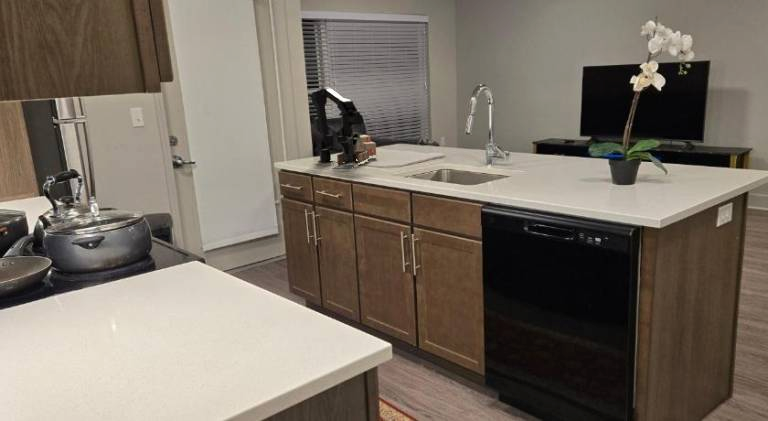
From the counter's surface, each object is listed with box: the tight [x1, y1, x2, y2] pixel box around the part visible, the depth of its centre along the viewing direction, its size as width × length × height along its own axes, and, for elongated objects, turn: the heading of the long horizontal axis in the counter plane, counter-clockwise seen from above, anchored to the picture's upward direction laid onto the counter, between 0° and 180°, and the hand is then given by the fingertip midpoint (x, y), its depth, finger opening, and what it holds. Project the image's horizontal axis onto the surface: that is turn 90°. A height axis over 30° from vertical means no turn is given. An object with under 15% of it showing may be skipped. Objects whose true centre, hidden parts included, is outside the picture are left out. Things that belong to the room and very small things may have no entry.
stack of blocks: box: [355, 134, 377, 156], centre depth 338 cm, size 21×6×12 cm, turn 18°
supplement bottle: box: [342, 139, 356, 164], centre depth 311 cm, size 7×7×12 cm
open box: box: [336, 151, 369, 166], centre depth 316 cm, size 14×13×6 cm
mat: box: [332, 164, 356, 170], centre depth 306 cm, size 10×10×1 cm
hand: (349, 153), depth 311 cm, fingers closed on supplement bottle, 7 cm apart
